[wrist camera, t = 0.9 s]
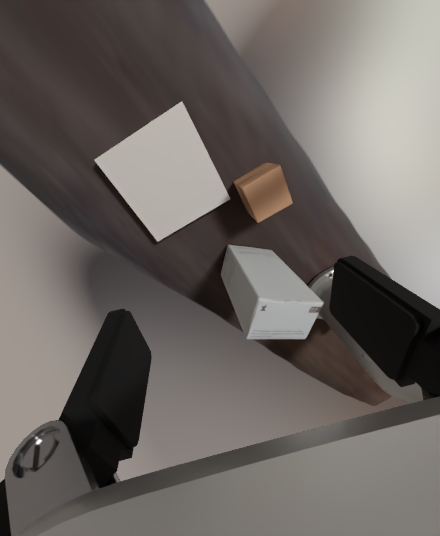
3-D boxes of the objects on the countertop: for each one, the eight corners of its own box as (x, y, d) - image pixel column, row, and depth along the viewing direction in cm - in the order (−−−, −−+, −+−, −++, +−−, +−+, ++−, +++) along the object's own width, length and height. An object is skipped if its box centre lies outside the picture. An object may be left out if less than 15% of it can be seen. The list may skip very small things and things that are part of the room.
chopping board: (228, 197, 30) (230, 198, 29) (158, 238, 32) (157, 241, 31) (181, 103, 24) (182, 101, 23) (97, 159, 26) (94, 160, 25)
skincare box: (219, 273, 36) (240, 342, 24) (227, 241, 34) (255, 299, 21) (264, 278, 38) (305, 343, 26) (275, 248, 36) (327, 304, 23)
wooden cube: (277, 195, 31) (292, 203, 27) (247, 212, 32) (257, 222, 28) (265, 162, 29) (280, 165, 25) (233, 181, 29) (242, 187, 25)
